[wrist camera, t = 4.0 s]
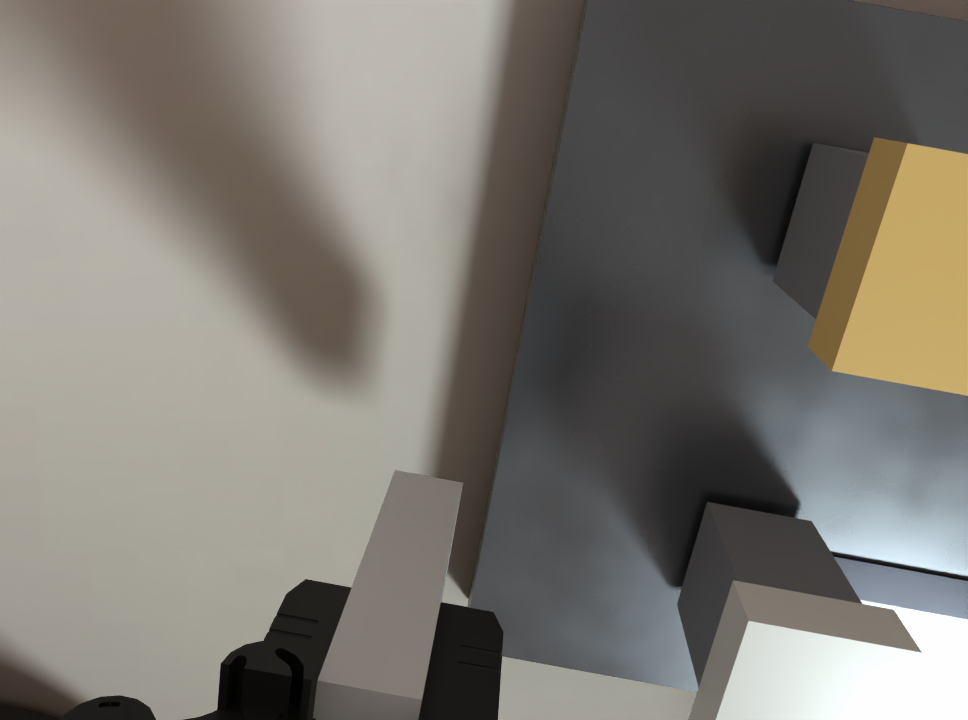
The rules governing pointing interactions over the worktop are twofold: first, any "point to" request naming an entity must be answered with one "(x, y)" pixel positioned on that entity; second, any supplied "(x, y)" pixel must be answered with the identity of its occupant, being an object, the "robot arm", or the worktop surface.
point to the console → (717, 340)
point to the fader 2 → (785, 627)
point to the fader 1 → (883, 262)
